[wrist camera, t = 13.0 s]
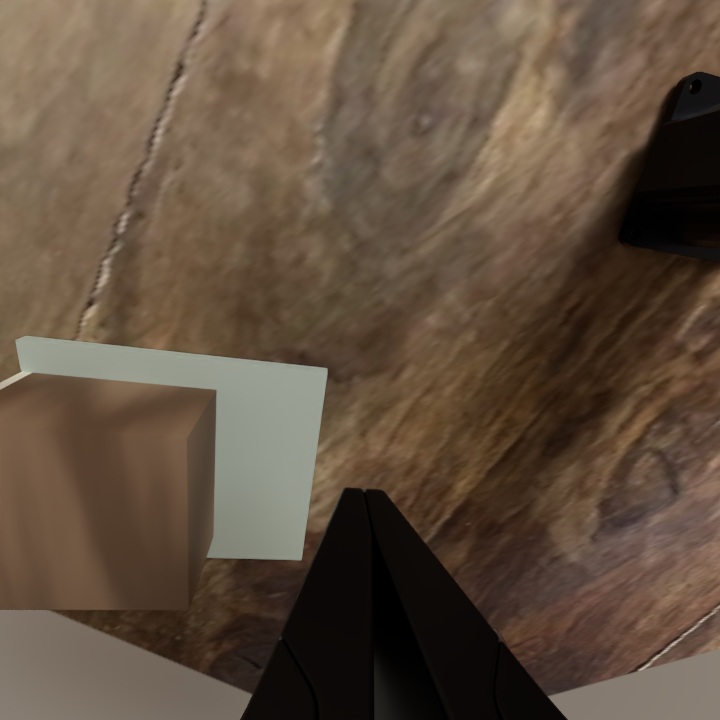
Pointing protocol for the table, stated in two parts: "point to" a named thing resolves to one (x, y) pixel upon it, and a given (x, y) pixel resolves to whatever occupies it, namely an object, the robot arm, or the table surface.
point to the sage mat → (226, 432)
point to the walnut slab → (104, 493)
